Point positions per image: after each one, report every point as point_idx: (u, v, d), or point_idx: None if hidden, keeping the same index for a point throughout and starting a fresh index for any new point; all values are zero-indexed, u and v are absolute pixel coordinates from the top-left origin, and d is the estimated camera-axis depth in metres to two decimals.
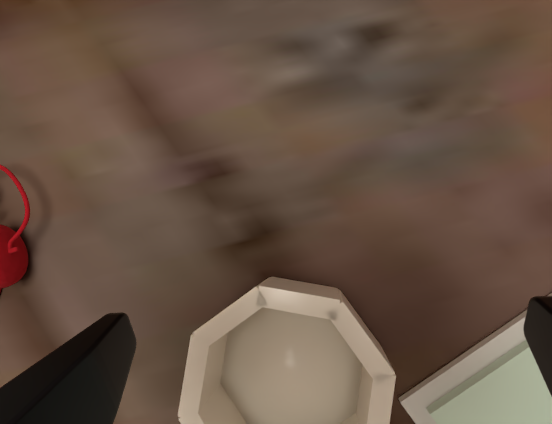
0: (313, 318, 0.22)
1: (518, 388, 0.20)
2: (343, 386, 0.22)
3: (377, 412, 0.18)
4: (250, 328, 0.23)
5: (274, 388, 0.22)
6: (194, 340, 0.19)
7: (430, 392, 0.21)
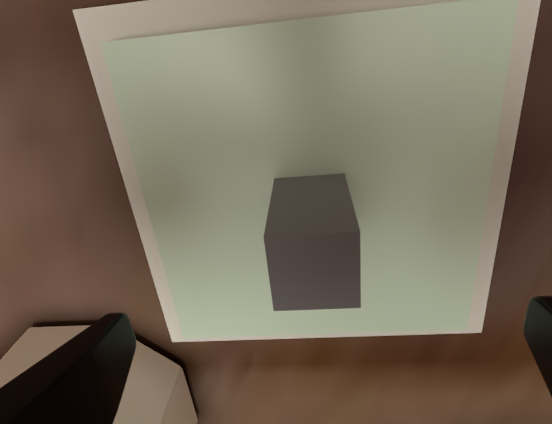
0: None
1: (192, 248, 0.15)
2: None
3: None
4: None
5: None
6: None
7: (173, 313, 0.17)
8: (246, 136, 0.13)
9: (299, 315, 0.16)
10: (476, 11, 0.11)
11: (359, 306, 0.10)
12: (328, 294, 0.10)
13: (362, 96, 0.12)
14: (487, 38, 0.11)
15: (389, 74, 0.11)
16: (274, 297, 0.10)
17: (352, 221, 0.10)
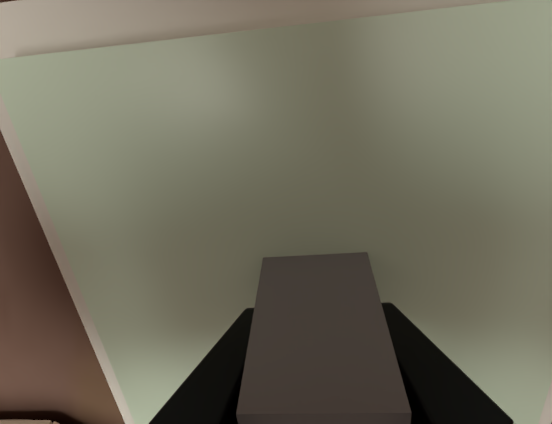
0: None
1: (150, 343, 0.10)
2: None
3: None
4: None
5: None
6: None
7: None
8: (220, 200, 0.08)
9: None
10: None
11: None
12: None
13: (397, 144, 0.08)
14: None
15: (443, 111, 0.07)
16: None
17: (393, 379, 0.06)
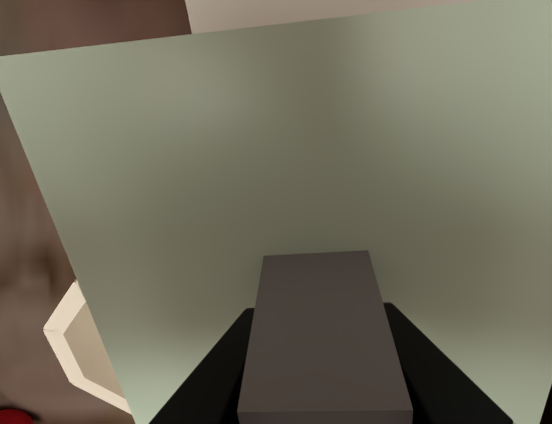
0: None
1: (151, 342, 0.10)
2: None
3: None
4: None
5: None
6: (77, 383, 0.22)
7: None
8: (220, 197, 0.08)
9: None
10: None
11: None
12: None
13: (399, 142, 0.08)
14: None
15: (444, 108, 0.07)
16: None
17: (394, 377, 0.06)
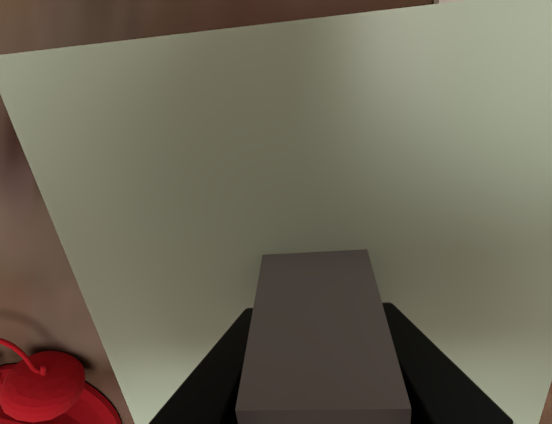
0: None
1: (149, 341, 0.10)
2: None
3: None
4: None
5: None
6: None
7: None
8: (219, 196, 0.08)
9: None
10: None
11: None
12: None
13: (397, 140, 0.08)
14: None
15: (443, 107, 0.07)
16: None
17: (393, 375, 0.06)
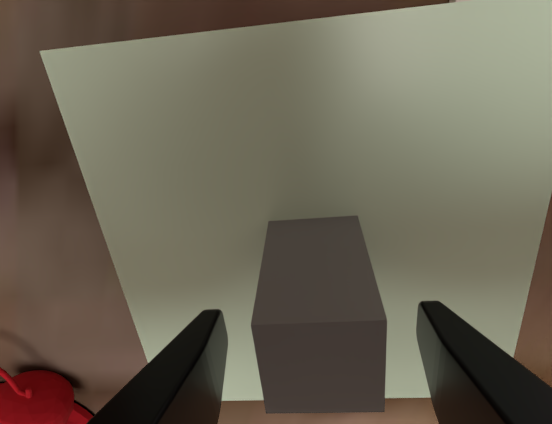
0: None
1: (169, 301, 0.12)
2: None
3: None
4: None
5: None
6: None
7: None
8: (232, 170, 0.10)
9: None
10: (539, 9, 0.08)
11: (382, 410, 0.08)
12: (340, 395, 0.08)
13: (381, 121, 0.09)
14: (551, 46, 0.08)
15: (418, 92, 0.09)
16: (267, 397, 0.08)
17: (374, 300, 0.07)
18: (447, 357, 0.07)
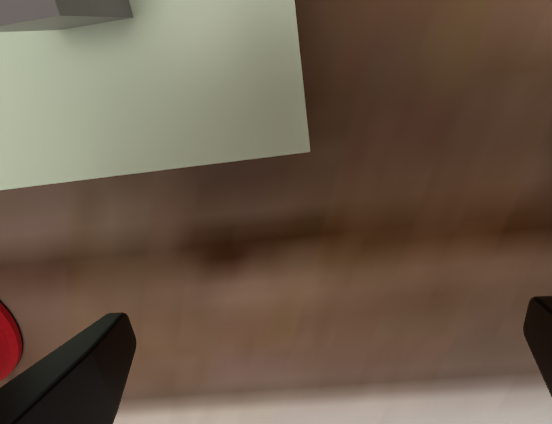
0: None
1: None
2: None
3: None
4: None
5: None
6: None
7: None
8: None
9: (111, 146, 0.13)
10: None
11: (57, 13, 0.08)
12: None
13: None
14: None
15: None
16: None
17: None
18: None
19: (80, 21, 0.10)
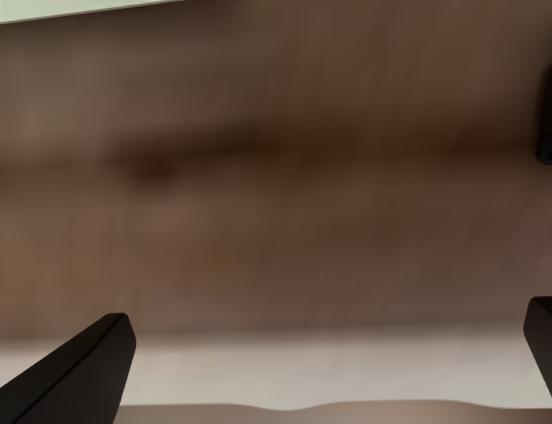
0: None
1: None
2: None
3: None
4: None
5: None
6: None
7: None
8: None
9: None
10: None
11: None
12: None
13: None
14: None
15: None
16: None
17: None
18: None
19: None
